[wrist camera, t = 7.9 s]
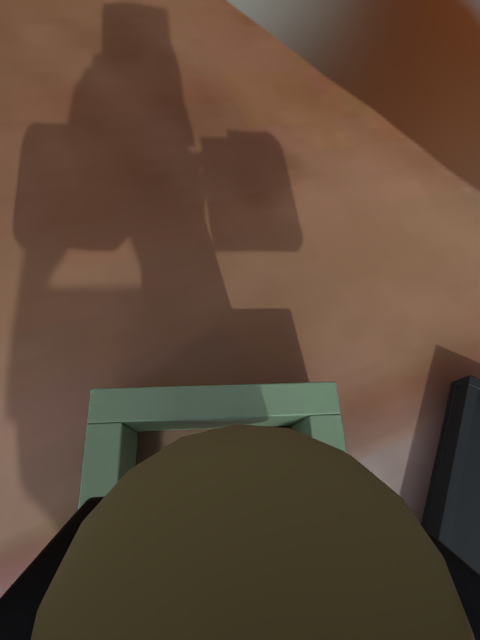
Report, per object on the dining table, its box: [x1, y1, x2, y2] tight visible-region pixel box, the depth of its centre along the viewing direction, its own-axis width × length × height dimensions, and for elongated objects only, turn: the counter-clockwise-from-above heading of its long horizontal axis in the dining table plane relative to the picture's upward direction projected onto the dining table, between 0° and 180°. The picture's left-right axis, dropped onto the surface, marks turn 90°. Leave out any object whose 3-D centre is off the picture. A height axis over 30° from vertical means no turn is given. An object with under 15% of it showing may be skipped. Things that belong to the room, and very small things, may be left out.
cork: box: [31, 424, 475, 640], centre depth 8 cm, size 6×6×11 cm
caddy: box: [78, 382, 347, 509], centre depth 17 cm, size 11×11×4 cm
